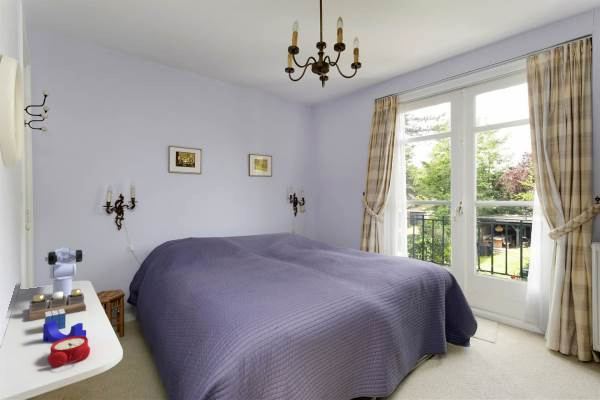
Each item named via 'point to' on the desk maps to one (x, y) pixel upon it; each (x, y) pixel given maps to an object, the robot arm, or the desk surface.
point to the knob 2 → (75, 292)
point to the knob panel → (56, 306)
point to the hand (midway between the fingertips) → (67, 258)
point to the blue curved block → (54, 334)
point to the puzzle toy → (56, 317)
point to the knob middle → (57, 295)
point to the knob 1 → (38, 298)
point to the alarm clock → (69, 350)
